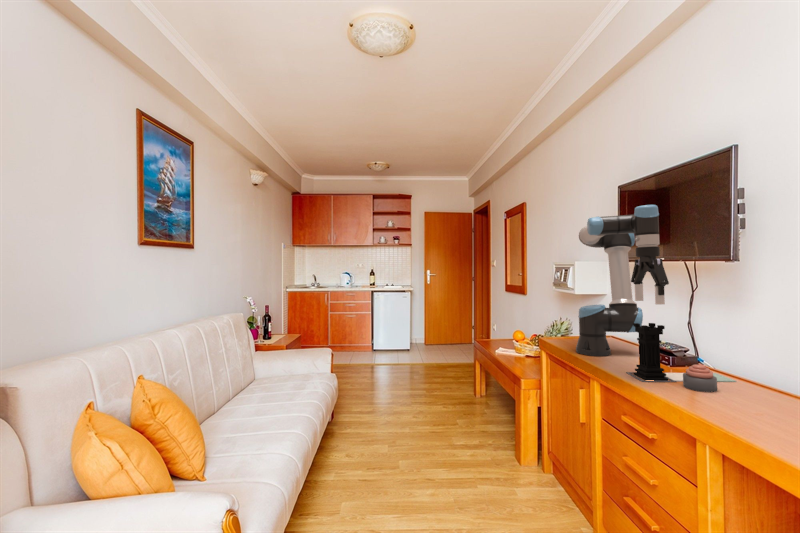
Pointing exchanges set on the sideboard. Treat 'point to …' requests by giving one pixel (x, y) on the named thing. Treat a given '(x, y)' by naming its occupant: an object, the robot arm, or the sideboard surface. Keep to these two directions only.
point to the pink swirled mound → (699, 371)
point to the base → (700, 383)
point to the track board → (679, 377)
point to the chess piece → (649, 352)
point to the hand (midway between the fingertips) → (649, 302)
